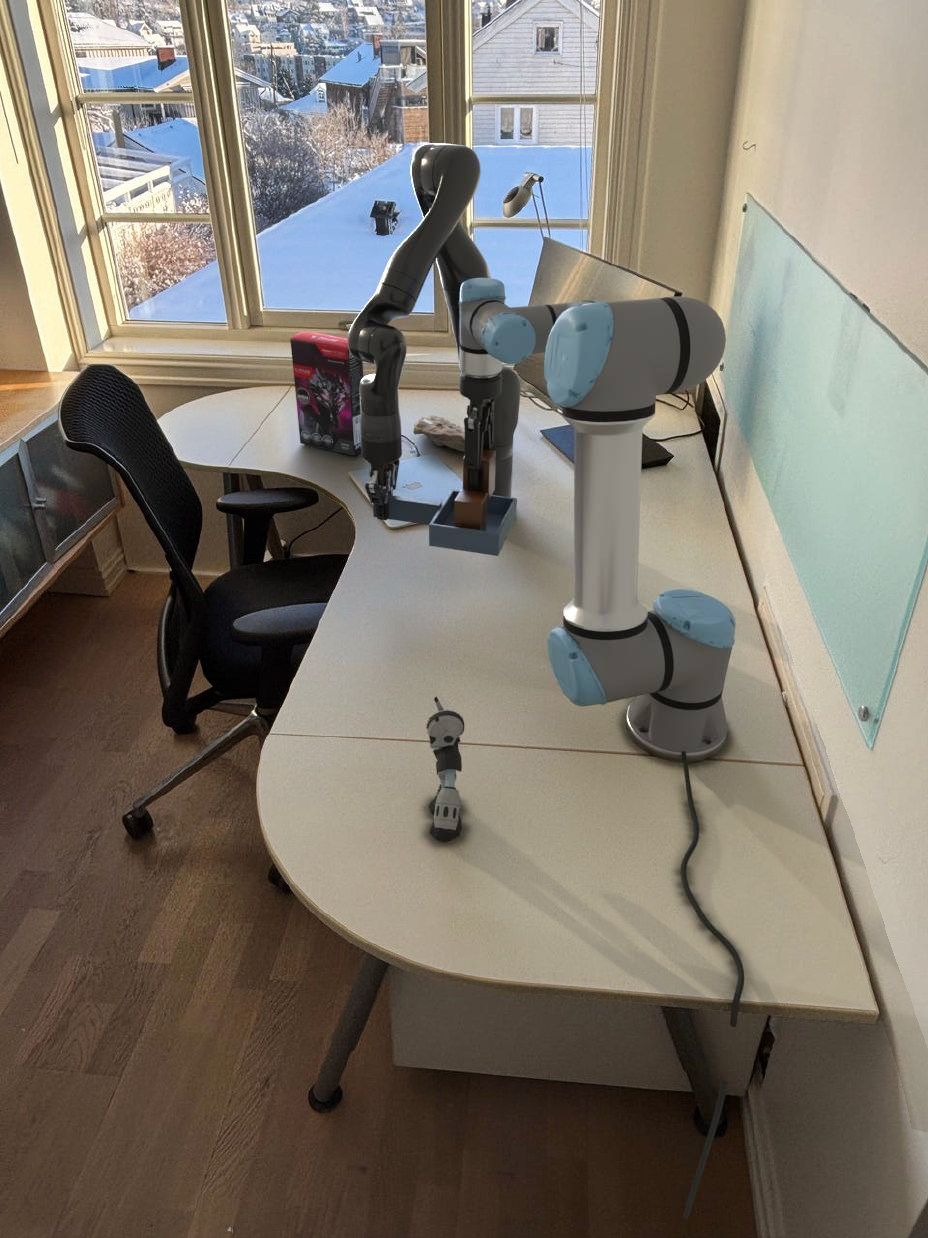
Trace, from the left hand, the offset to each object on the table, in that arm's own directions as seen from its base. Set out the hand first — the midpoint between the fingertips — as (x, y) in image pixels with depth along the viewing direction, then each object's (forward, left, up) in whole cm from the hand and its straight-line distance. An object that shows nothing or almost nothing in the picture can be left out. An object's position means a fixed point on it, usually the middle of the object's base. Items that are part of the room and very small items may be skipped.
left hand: (384, 516), depth 179 cm
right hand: (-3, +18, +6) cm, 19 cm away
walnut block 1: (-3, +18, +6) cm, 19 cm away
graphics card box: (-51, -32, -10) cm, 61 cm away
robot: (+64, +31, -10) cm, 72 cm away
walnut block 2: (+3, +18, 0) cm, 18 cm away
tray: (0, +11, -1) cm, 11 cm away
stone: (-60, -4, -10) cm, 61 cm away
